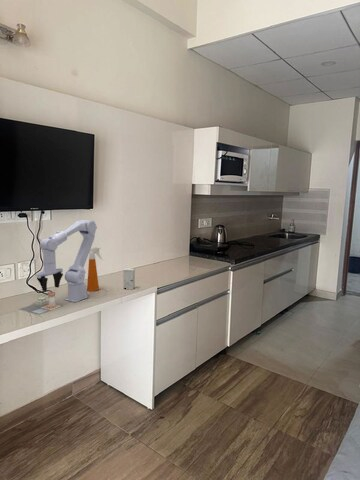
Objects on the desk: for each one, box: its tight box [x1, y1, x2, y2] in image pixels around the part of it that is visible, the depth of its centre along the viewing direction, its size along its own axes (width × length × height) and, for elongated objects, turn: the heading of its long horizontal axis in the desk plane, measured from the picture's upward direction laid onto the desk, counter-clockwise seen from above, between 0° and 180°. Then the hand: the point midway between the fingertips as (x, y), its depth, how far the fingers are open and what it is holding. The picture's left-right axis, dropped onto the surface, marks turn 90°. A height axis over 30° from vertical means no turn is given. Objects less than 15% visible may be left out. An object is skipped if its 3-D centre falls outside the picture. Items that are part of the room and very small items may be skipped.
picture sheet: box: [18, 303, 64, 315], centre depth 174 cm, size 15×15×1 cm
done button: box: [37, 296, 47, 302], centre depth 179 cm, size 3×3×2 cm
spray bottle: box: [86, 246, 104, 292], centre depth 203 cm, size 7×11×26 cm, turn 71°
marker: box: [47, 291, 56, 308], centre depth 174 cm, size 3×3×8 cm
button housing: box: [34, 298, 48, 306], centre depth 179 cm, size 5×5×2 cm
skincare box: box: [122, 267, 136, 290], centre depth 208 cm, size 6×4×12 cm
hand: (50, 289), depth 173 cm, fingers open, 7 cm apart
